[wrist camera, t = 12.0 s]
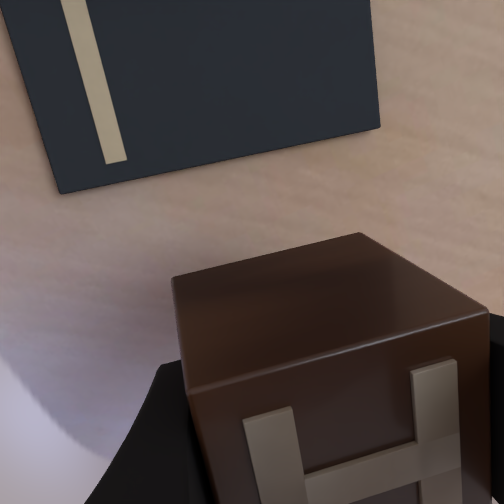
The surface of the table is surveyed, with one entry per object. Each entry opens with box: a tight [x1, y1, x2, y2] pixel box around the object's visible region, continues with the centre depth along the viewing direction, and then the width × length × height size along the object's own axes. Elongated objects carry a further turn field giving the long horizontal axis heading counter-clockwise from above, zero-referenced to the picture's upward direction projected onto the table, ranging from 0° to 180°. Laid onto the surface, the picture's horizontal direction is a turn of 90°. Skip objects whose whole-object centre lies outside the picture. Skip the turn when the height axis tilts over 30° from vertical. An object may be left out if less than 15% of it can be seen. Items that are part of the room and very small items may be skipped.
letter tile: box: [171, 232, 492, 504], centre depth 9 cm, size 4×4×5 cm
